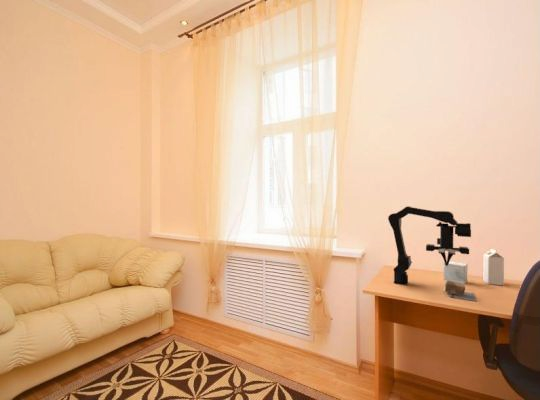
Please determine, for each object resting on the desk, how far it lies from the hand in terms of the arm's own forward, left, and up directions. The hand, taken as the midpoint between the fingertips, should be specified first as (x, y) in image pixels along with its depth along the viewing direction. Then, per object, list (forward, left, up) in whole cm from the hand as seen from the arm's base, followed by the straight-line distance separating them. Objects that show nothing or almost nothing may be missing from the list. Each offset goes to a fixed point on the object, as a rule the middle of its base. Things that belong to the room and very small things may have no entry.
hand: (446, 265), depth 144 cm
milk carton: (+23, +27, -13) cm, 38 cm away
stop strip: (+1, -5, -13) cm, 14 cm away
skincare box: (+5, +21, -13) cm, 25 cm away
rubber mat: (+7, -5, -13) cm, 16 cm away
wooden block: (-1, -5, -9) cm, 11 cm away
